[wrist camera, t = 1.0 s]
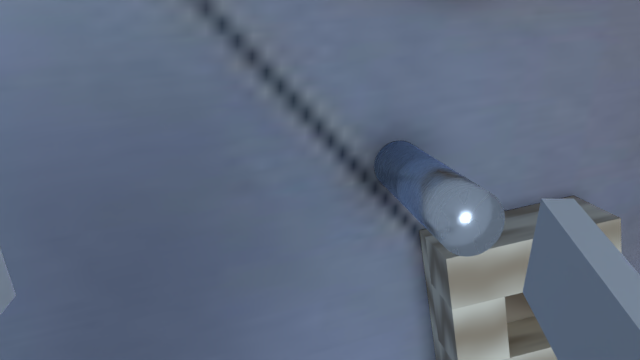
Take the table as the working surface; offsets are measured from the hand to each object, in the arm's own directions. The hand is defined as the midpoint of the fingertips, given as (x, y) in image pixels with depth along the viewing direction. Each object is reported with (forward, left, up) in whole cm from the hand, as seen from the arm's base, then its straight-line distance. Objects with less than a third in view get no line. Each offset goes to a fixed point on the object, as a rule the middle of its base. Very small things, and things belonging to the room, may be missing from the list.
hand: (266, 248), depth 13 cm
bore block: (-20, -19, -29) cm, 40 cm away
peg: (-7, -11, -29) cm, 32 cm away
